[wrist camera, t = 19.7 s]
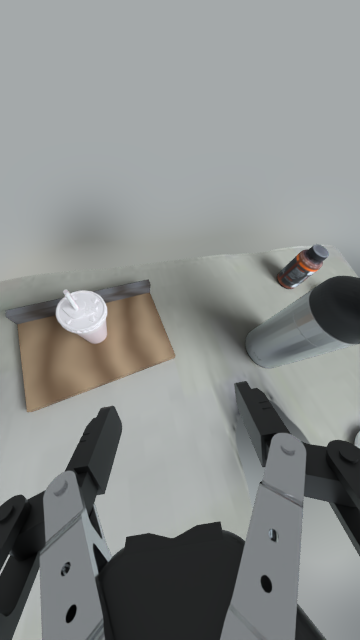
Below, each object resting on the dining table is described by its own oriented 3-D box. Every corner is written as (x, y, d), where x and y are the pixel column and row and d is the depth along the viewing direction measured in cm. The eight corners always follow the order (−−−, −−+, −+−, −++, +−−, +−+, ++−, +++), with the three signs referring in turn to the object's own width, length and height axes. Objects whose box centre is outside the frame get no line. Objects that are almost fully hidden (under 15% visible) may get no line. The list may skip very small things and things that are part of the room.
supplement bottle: (295, 292, 50) (334, 264, 40) (276, 285, 50) (310, 255, 40) (295, 276, 53) (331, 246, 43) (276, 269, 52) (308, 237, 42)
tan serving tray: (147, 290, 41) (148, 278, 37) (174, 357, 36) (178, 351, 32) (21, 320, 34) (5, 308, 29) (32, 411, 28) (14, 412, 24)
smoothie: (79, 318, 34) (45, 268, 22) (115, 318, 36) (102, 271, 23) (74, 351, 32) (32, 316, 19) (113, 350, 33) (97, 316, 21)
